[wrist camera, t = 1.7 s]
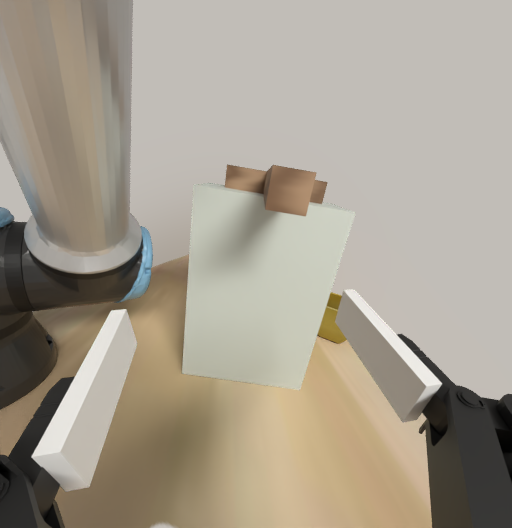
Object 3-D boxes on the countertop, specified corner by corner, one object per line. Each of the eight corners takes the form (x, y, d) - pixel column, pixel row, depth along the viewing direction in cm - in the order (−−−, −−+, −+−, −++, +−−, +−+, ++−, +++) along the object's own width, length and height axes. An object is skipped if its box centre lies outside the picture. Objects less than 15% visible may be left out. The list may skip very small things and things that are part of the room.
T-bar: (188, 196, 16) (191, 150, 15) (228, 186, 36) (230, 166, 35) (379, 228, 17) (394, 186, 16) (315, 201, 36) (320, 181, 35)
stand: (181, 373, 38) (193, 184, 27) (197, 334, 47) (210, 183, 37) (299, 390, 39) (355, 212, 28) (292, 348, 48) (331, 204, 37)
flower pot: (314, 319, 60) (323, 289, 57) (349, 331, 57) (360, 300, 54) (307, 337, 52) (317, 303, 49) (347, 353, 50) (360, 318, 46)
